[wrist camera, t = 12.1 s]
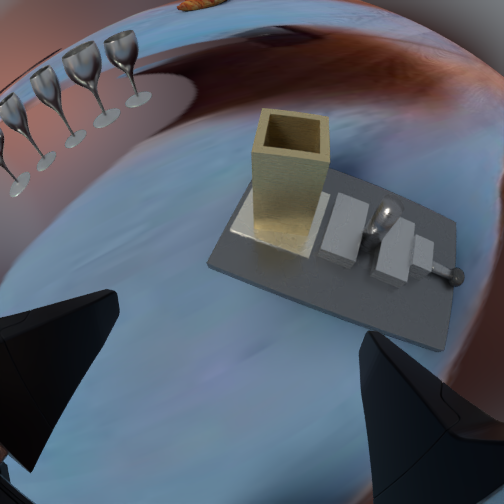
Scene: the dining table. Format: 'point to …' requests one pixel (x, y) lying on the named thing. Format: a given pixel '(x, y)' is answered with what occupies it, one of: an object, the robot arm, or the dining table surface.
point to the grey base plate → (354, 260)
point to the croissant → (198, 4)
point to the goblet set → (82, 73)
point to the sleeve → (288, 169)
